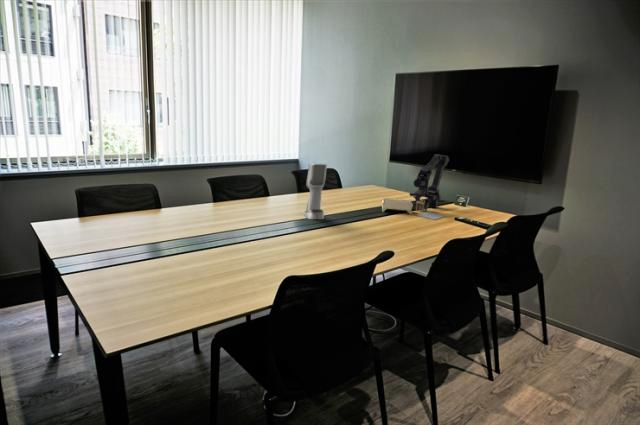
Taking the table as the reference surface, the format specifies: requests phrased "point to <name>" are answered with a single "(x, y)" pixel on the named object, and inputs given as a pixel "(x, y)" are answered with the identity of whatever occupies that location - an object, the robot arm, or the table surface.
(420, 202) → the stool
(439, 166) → the robot arm
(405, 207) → the toy sofa
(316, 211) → the thermal camera
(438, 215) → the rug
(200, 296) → the table surface
